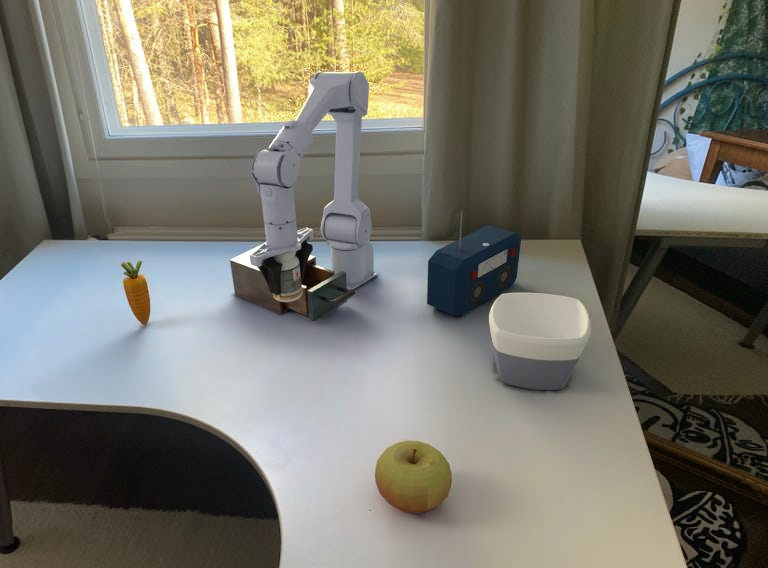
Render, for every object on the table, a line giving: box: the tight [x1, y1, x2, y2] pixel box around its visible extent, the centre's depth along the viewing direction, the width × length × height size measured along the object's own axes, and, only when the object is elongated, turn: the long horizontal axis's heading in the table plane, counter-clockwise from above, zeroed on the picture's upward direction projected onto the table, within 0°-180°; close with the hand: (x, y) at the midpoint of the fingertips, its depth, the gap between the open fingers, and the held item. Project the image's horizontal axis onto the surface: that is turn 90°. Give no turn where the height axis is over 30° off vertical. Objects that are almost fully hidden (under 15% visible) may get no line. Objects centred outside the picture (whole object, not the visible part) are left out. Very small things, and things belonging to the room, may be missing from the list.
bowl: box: [488, 292, 592, 391], centre depth 103 cm, size 15×15×11 cm
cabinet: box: [229, 243, 317, 315], centre depth 136 cm, size 15×12×9 cm
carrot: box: [120, 260, 151, 326], centre depth 127 cm, size 5×5×15 cm
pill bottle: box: [273, 251, 303, 302], centre depth 116 cm, size 6×6×10 cm
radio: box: [426, 210, 522, 317], centre depth 124 cm, size 21×9×20 cm, turn 129°
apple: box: [374, 440, 453, 514], centre depth 83 cm, size 10×10×8 cm
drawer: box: [282, 263, 357, 323], centre depth 128 cm, size 18×10×7 cm, turn 46°
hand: (286, 286), depth 118 cm, fingers closed on pill bottle, 5 cm apart
